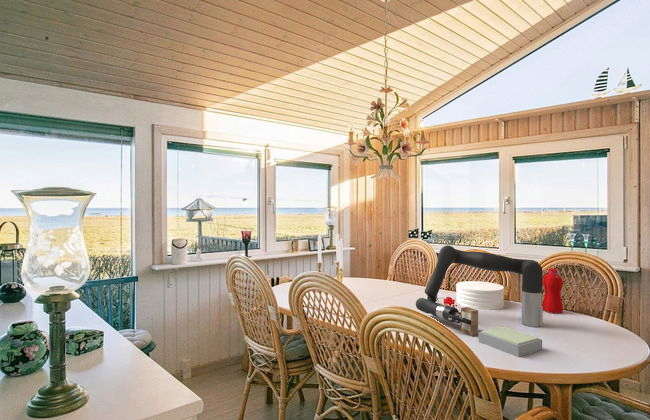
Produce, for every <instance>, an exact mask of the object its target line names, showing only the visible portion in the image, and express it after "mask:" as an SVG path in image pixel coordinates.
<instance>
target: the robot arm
mask: <svg viewBox="0 0 650 420" xmlns="http://www.w3.org/2000/svg"><path fill="white" fill-rule="evenodd" d="M451 264H456V265H457V264H458V265H465V266H469V267H472V268H476V269H481V270H486V271H491V272H508V273H509V272H510V273H515V274H519V275H521V278H522V280H521V281H522V282H521V283H522V284H521V324H522V325H523V326H527V327H531V328H532V327H533V328H534V327H535V328H539V327H543V326H544V325H543V324H544V321H543V319H544V310H543V308H542V303H543V299H542V297H543V295H542V293H543V277H544V275H543V273H544V271H543V267H542V265H541V264H540V263H539V262H538V261H536V260H534V259H522V258H514V257H513V258H512V257H509V256H505V255H501V254H496V253H490V252H486V251H485V252H482V251H464V250H460V249H456V248H455V247H453V245H444V246H442V247H441V248H440V250H439V254H438V258H437V262H436V264H435V268H434V269H433V272H432V274H431V276H430V277H431V278H429V280H428V282H427V285H426V287H425V288H424V293H425V295H426V296H427V298H424V297H420V298H418V299H416V301H415V307H416V309H417V310H419V312H420V311H421V312H422V313H425V314H427V315H428V314H430V315H432V316H434V317H437V318H440V319H441V320H445V321H448V322H450V323H456V324H461V323H466V324H469V325H470V324H471V320H469V319H466V318H463V317H461V311H459V310H458V308H456V307H454V306H450V305H447V304H442V303H439V302H437V301H436V298H438V294H439V292H440V289H441V288H442V286H443V284H442V282H443V283H444V279H445V276H446V273H447V271H448V269H449V267H450V266H451ZM441 285H442V286H441ZM440 287H441V288H440Z"/></svg>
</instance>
